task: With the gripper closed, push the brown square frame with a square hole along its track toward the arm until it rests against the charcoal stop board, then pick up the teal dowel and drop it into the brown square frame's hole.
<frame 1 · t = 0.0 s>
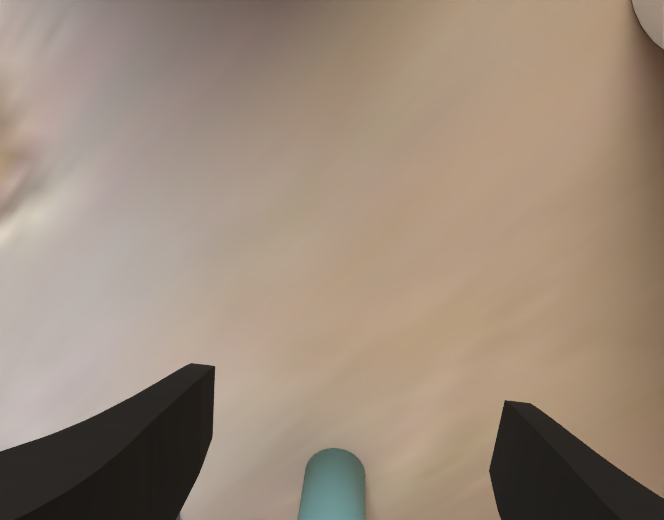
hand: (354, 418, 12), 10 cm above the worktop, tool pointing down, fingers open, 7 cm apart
dowel: (335, 474, 24), on the worktop
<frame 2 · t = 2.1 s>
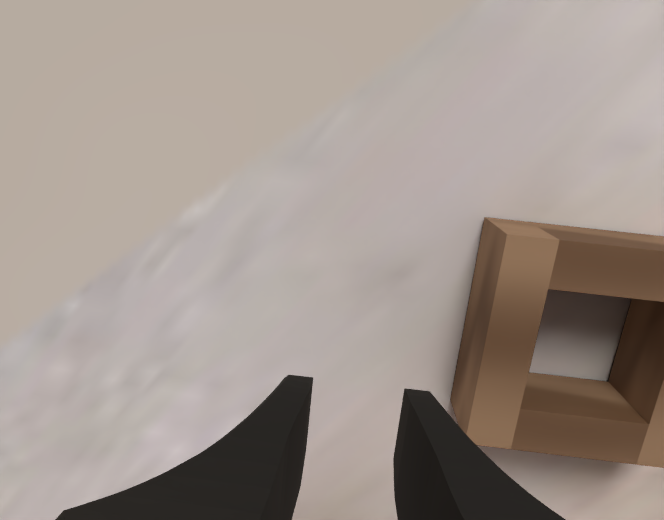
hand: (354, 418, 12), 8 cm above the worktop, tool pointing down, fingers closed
brown square frame: (581, 340, 18), point 2 cm above the worktop, slide at 0.0 cm
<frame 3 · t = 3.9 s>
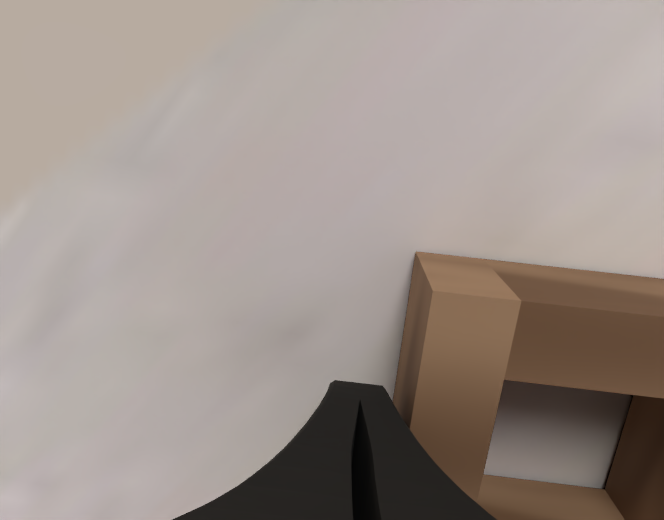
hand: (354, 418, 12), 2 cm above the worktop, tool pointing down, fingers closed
brown square frame: (562, 443, 12), point 2 cm above the worktop, slide at 0.0 cm, touching gripper
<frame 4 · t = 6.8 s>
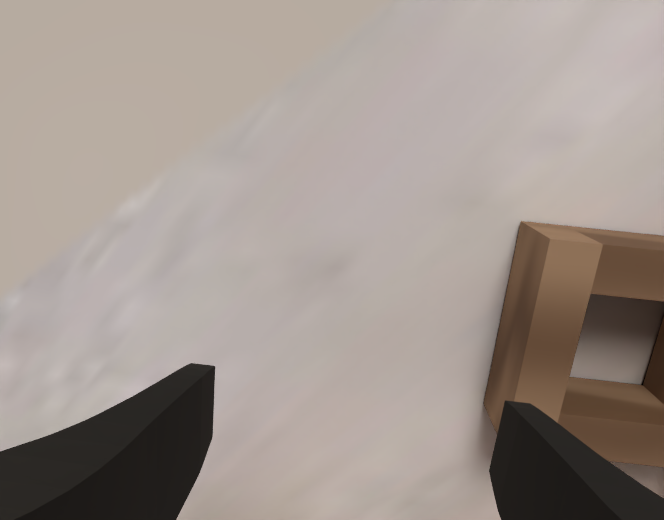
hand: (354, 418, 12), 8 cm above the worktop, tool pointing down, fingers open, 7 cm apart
brown square frame: (619, 344, 18), point 2 cm above the worktop, slide at 4.0 cm
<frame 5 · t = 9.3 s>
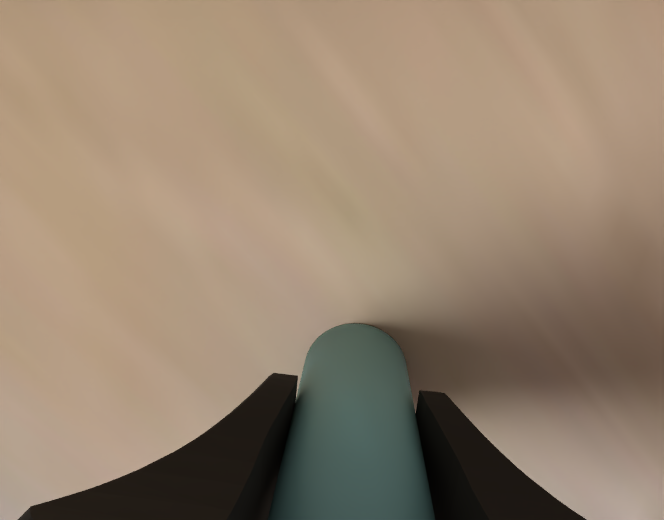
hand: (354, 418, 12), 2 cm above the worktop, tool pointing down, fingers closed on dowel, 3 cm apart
dowel: (355, 370, 14), on the worktop, touching gripper
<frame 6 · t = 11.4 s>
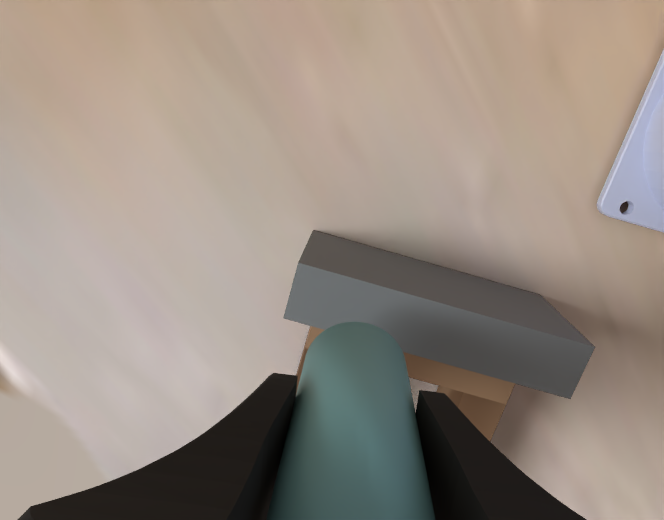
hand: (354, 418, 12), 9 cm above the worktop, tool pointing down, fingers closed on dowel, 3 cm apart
dowel: (354, 369, 14), point 7 cm above the worktop, touching gripper
brown square frame: (386, 405, 21), point 2 cm above the worktop, slide at 4.0 cm
stop board: (419, 284, 21), on the worktop
when the fingers open (4 cm above the worktop, at t = 13.4 s): dowel drops 2 cm, resting in brown square frame.
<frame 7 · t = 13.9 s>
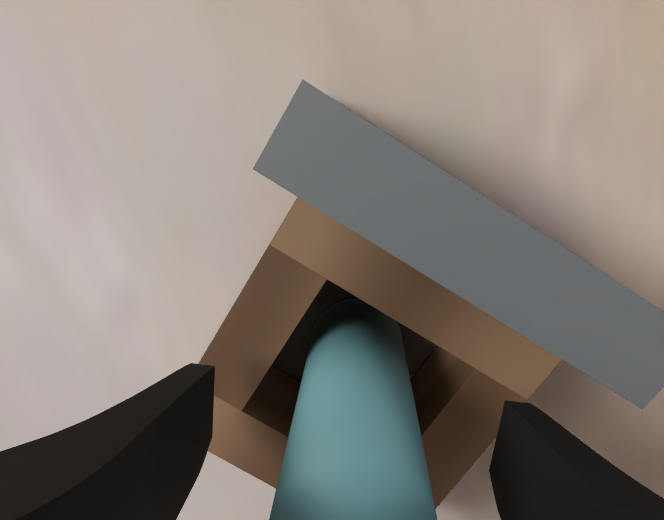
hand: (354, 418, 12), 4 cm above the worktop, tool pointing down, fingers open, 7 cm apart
dowel: (356, 340, 16), resting in brown square frame
brown square frame: (355, 364, 15), point 2 cm above the worktop, slide at 4.0 cm
stop board: (444, 213, 15), on the worktop
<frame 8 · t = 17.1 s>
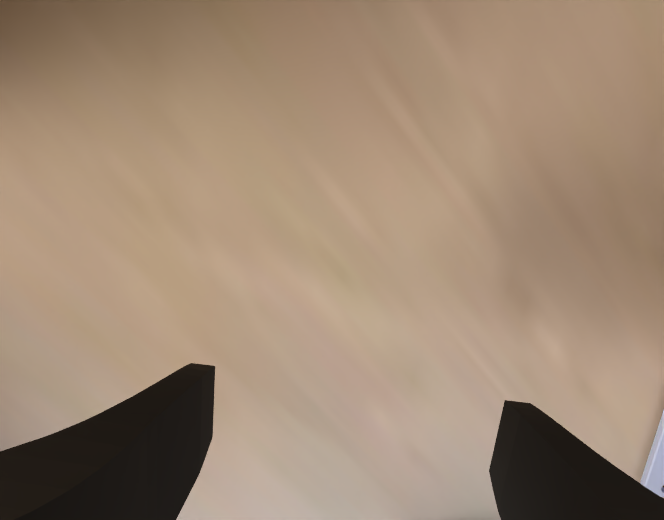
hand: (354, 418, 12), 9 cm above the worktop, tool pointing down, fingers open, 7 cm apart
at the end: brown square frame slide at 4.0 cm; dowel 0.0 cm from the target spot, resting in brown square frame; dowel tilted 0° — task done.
